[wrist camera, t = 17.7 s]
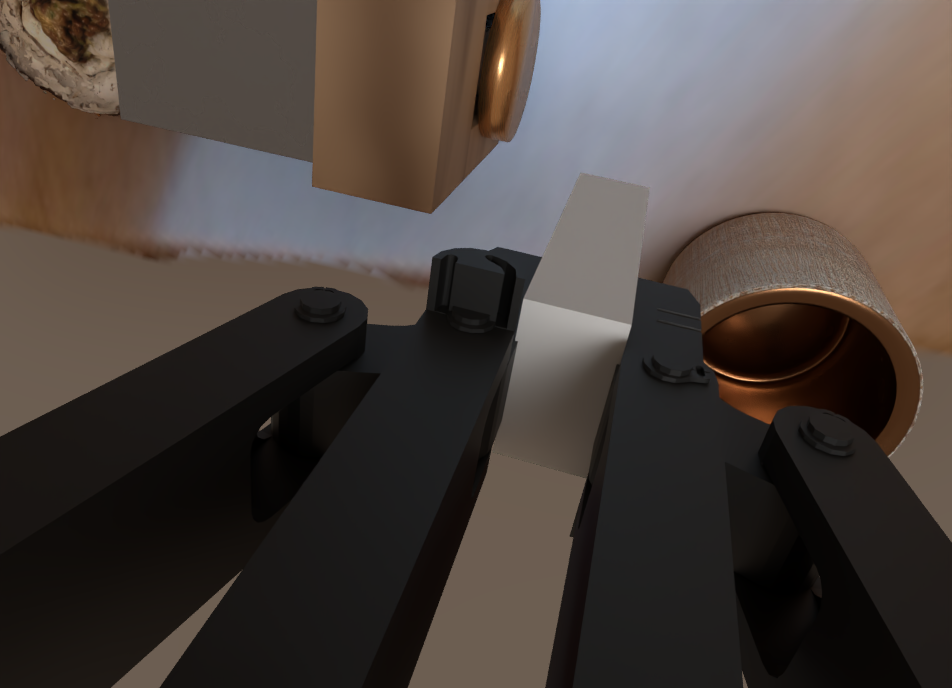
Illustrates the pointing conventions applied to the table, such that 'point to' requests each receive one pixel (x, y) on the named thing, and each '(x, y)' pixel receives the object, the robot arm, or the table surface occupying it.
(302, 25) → the block
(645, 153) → the table surface
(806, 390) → the planter
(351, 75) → the spacer
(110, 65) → the cream tart
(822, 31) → the table surface
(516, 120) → the shaft
